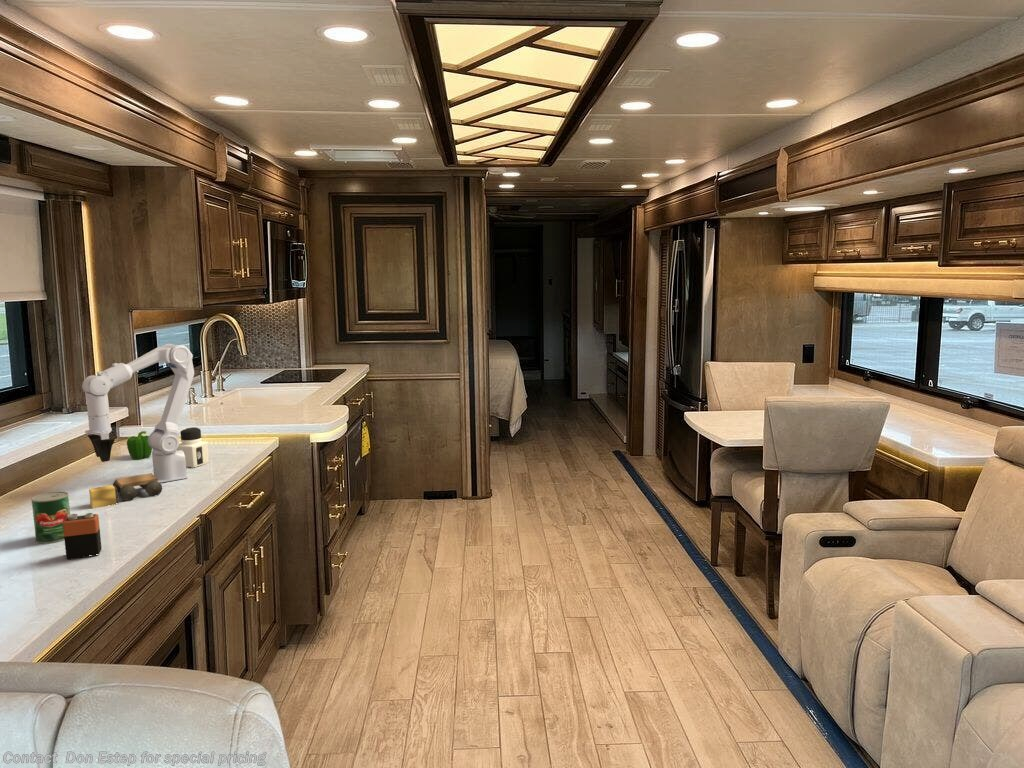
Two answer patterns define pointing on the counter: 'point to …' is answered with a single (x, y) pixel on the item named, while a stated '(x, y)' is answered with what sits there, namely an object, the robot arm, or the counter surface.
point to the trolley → (143, 481)
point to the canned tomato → (50, 516)
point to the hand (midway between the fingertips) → (103, 458)
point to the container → (193, 447)
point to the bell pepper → (139, 446)
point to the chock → (103, 496)
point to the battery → (82, 535)
